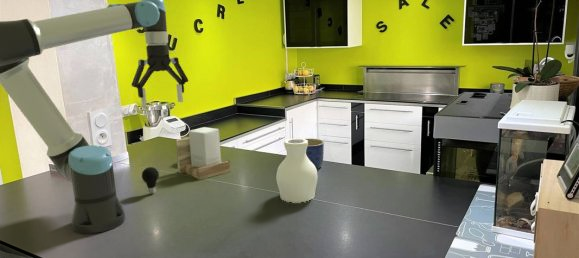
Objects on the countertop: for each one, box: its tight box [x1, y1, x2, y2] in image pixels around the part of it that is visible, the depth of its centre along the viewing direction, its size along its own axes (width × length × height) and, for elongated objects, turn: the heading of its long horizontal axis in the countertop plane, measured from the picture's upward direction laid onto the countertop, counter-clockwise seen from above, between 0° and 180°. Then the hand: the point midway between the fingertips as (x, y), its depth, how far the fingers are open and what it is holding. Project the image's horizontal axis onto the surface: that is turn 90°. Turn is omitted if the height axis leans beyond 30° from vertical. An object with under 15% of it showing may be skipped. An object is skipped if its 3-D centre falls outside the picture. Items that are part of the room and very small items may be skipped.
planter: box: [305, 138, 325, 170], centre depth 181 cm, size 12×12×11 cm
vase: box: [275, 137, 318, 204], centre depth 147 cm, size 14×14×20 cm
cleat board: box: [175, 136, 231, 180], centre depth 179 cm, size 15×18×14 cm
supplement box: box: [188, 126, 222, 168], centre depth 178 cm, size 9×9×15 cm
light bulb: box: [141, 166, 160, 195], centre depth 155 cm, size 6×6×10 cm
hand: (162, 104), depth 156 cm, fingers open, 13 cm apart
